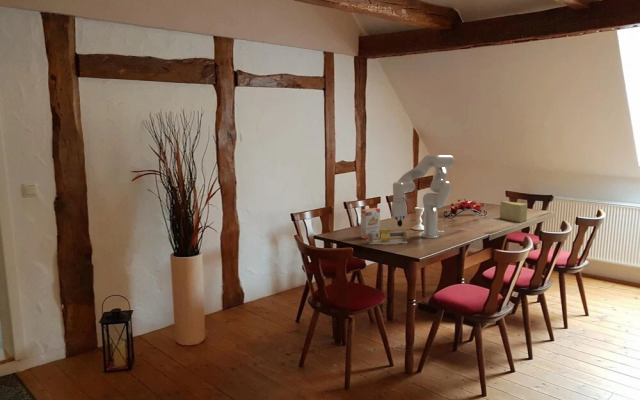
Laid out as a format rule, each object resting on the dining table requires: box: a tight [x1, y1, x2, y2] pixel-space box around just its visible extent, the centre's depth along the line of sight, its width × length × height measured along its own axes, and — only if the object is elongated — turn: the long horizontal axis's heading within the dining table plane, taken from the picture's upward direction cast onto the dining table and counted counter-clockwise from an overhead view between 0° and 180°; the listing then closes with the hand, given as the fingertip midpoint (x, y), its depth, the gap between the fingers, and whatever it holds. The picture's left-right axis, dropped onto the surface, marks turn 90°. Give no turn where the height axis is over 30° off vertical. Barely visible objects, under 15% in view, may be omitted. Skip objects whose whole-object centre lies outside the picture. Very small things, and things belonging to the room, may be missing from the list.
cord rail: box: [367, 231, 408, 245], centre depth 335 cm, size 26×9×8 cm, turn 96°
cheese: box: [499, 200, 528, 223], centre depth 400 cm, size 22×10×15 cm, turn 33°
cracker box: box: [360, 207, 381, 240], centre depth 351 cm, size 14×6×21 cm, turn 126°
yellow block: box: [378, 227, 391, 241], centre depth 335 cm, size 6×7×8 cm
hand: (399, 226), depth 335 cm, fingers closed
